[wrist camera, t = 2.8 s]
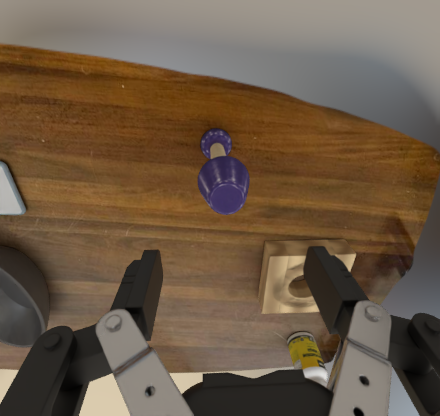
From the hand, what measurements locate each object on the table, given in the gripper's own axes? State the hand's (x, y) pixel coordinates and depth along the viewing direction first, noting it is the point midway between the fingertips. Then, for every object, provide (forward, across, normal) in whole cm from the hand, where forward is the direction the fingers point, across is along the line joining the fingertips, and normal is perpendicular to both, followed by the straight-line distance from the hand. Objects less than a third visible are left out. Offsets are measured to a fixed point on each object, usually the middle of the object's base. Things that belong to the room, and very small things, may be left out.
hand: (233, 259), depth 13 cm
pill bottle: (+23, -19, +46) cm, 55 cm away
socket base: (+23, -15, +24) cm, 37 cm away
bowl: (+24, +35, +24) cm, 49 cm away
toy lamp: (+23, 0, 0) cm, 23 cm away
